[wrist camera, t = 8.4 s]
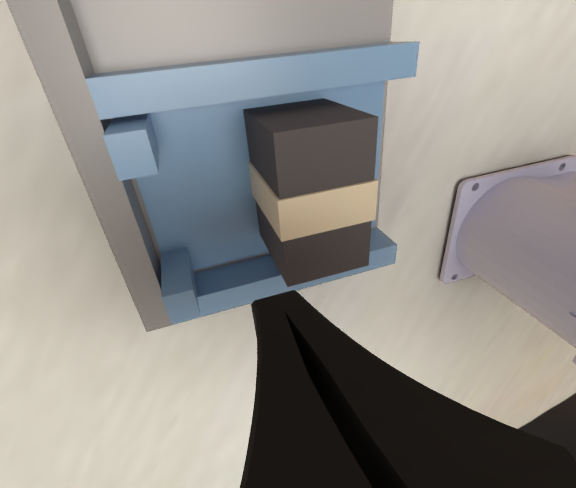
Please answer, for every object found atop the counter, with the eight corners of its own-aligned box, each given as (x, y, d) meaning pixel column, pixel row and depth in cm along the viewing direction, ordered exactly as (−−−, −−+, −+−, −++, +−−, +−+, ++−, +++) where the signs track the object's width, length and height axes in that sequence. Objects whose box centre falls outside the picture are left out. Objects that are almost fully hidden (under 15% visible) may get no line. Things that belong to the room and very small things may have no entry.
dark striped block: (325, 97, 15) (382, 117, 11) (327, 219, 18) (372, 266, 14) (240, 109, 14) (270, 134, 10) (258, 235, 17) (285, 289, 13)
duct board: (396, -303, 11) (524, -489, 7) (367, 237, 21) (411, 278, 17) (-113, -381, 8) (-365, -776, 4) (148, 292, 18) (145, 356, 14)
